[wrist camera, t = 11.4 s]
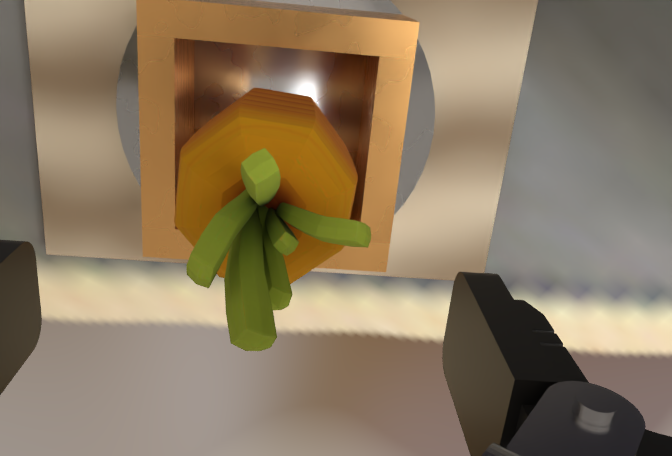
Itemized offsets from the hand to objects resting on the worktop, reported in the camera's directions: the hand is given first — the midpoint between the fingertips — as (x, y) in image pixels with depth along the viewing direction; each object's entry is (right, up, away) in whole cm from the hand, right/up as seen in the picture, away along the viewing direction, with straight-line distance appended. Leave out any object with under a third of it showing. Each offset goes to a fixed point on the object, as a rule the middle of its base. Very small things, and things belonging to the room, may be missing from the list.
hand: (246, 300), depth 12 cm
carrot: (-1, +6, +14) cm, 15 cm away
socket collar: (-1, +6, +14) cm, 16 cm away
